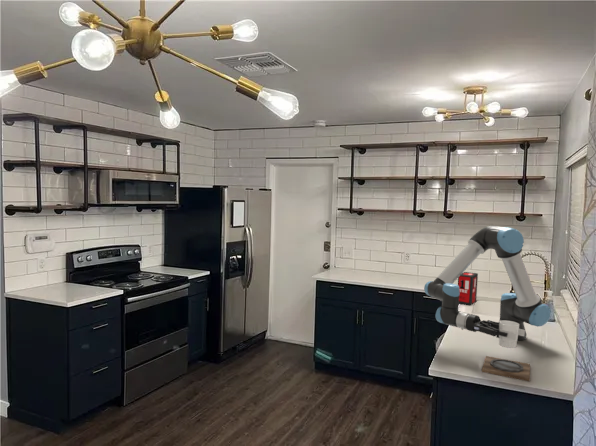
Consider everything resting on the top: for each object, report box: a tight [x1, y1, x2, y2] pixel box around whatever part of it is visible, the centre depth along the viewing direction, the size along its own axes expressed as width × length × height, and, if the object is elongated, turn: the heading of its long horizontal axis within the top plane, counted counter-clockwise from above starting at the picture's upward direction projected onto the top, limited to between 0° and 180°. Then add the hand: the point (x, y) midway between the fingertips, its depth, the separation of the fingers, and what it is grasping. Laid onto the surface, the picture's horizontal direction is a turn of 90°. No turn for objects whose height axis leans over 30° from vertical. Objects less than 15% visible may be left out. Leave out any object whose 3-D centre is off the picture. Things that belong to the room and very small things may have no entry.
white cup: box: [498, 320, 519, 349], centre depth 192 cm, size 8×8×10 cm
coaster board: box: [481, 355, 531, 382], centre depth 193 cm, size 18×18×2 cm
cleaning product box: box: [457, 271, 479, 307], centre depth 311 cm, size 16×9×20 cm, turn 145°
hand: (520, 335), depth 188 cm, fingers closed on white cup, 8 cm apart
